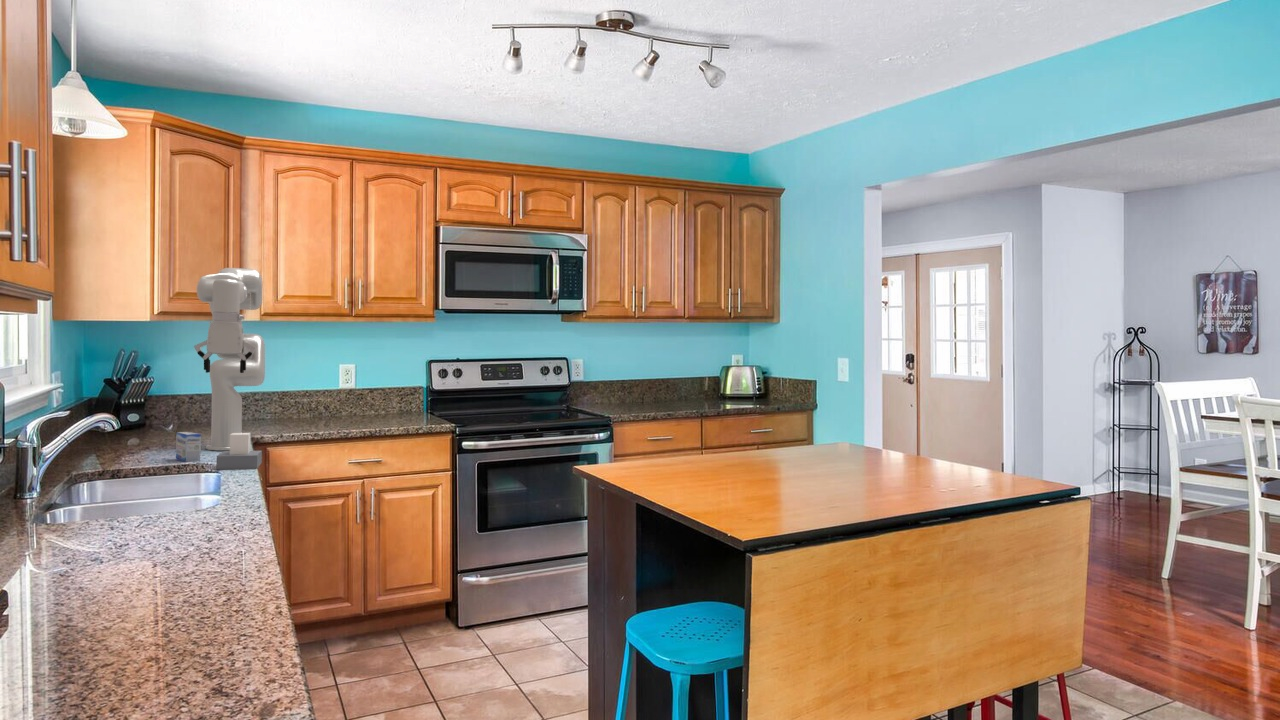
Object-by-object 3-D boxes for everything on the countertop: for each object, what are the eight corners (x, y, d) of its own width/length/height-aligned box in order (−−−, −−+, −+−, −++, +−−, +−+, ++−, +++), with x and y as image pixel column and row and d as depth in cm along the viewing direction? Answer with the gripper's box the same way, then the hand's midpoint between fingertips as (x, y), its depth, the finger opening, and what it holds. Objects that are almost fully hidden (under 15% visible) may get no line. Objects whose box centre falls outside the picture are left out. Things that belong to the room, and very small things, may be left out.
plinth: (222, 463, 245) (222, 451, 245) (261, 463, 248) (261, 450, 248) (216, 469, 234) (216, 456, 234) (257, 468, 238) (257, 455, 238)
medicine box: (175, 459, 251) (175, 432, 251) (190, 458, 255) (190, 431, 255) (185, 462, 247) (186, 434, 246) (200, 460, 250) (201, 433, 250)
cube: (232, 452, 243) (232, 432, 243) (250, 452, 244) (250, 432, 244) (229, 454, 238) (229, 434, 238) (247, 454, 240) (248, 434, 240)
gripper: (257, 319, 254) (256, 372, 255) (197, 317, 249) (196, 371, 249) (254, 319, 247) (253, 373, 248) (192, 317, 242) (191, 372, 242)
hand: (224, 372), depth 248 cm, fingers open, 9 cm apart
